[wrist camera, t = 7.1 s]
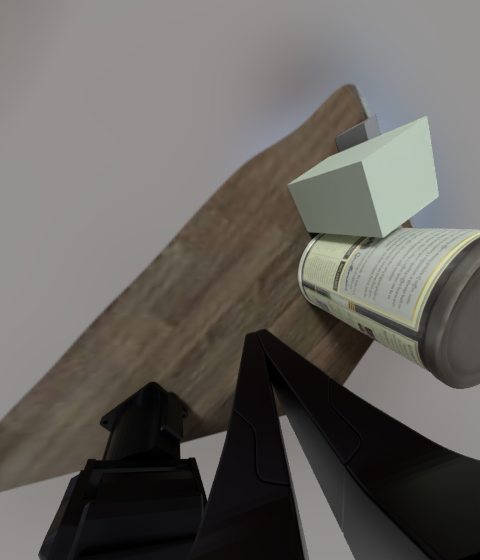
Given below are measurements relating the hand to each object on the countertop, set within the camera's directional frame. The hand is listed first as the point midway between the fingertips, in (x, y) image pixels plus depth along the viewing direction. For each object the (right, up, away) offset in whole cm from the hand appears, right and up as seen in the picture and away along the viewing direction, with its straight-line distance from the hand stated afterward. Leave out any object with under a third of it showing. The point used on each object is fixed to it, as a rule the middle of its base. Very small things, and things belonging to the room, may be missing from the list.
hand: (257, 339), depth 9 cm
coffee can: (+11, +4, +17) cm, 20 cm away
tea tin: (+8, +12, +13) cm, 19 cm away
